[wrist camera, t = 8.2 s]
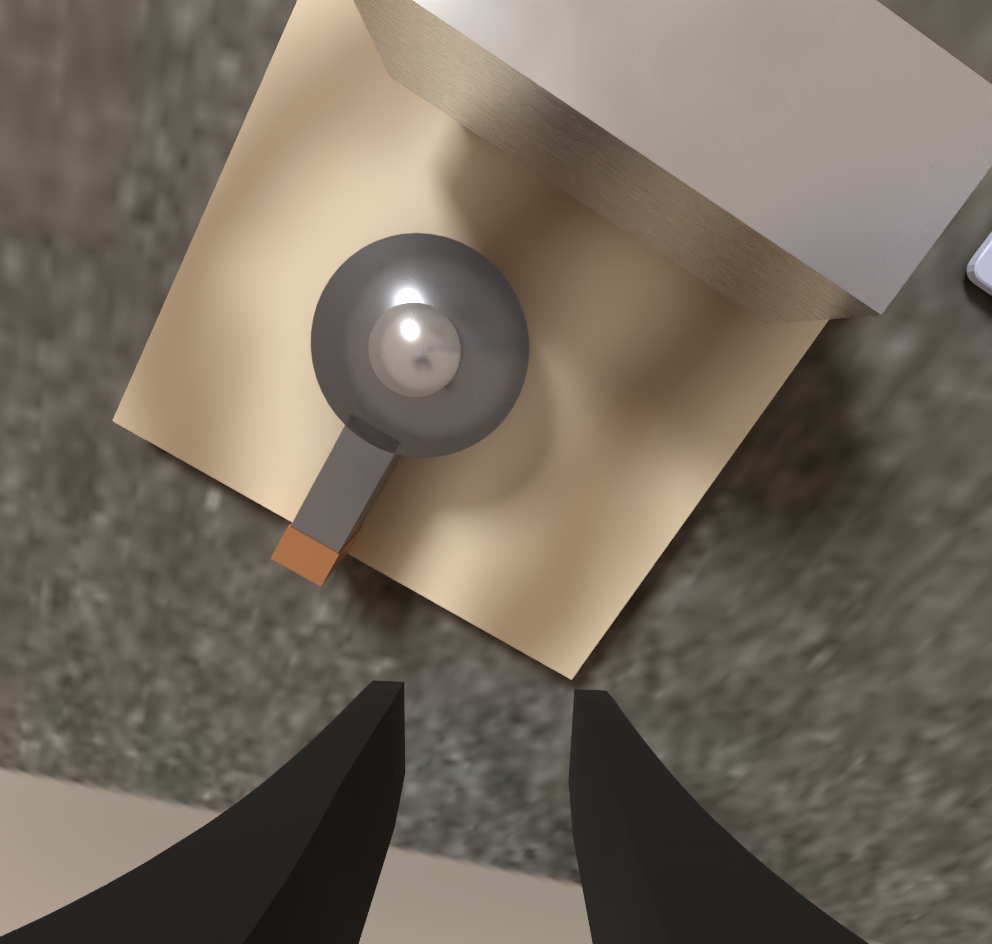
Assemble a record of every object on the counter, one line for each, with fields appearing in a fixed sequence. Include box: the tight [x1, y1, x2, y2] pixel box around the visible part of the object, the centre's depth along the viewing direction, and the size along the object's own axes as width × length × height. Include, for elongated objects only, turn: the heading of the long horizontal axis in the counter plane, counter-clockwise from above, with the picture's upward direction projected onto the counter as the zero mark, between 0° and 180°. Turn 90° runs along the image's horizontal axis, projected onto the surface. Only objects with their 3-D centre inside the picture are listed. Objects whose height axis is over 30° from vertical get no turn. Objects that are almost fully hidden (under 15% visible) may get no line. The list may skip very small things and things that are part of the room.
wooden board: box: [113, 0, 829, 680], centre depth 17 cm, size 18×20×3 cm
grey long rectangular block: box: [353, 0, 992, 324], centre depth 12 cm, size 12×4×5 cm, turn 59°
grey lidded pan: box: [271, 233, 529, 586], centre depth 17 cm, size 11×6×3 cm, turn 149°
